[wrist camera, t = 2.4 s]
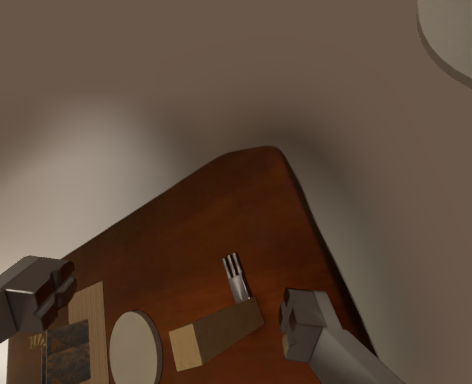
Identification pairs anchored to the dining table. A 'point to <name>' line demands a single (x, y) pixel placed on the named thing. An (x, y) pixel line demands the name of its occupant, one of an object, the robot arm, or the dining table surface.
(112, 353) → the plate
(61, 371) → the ruin model on sheet
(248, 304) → the brown block with prongs
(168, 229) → the dining table surface
